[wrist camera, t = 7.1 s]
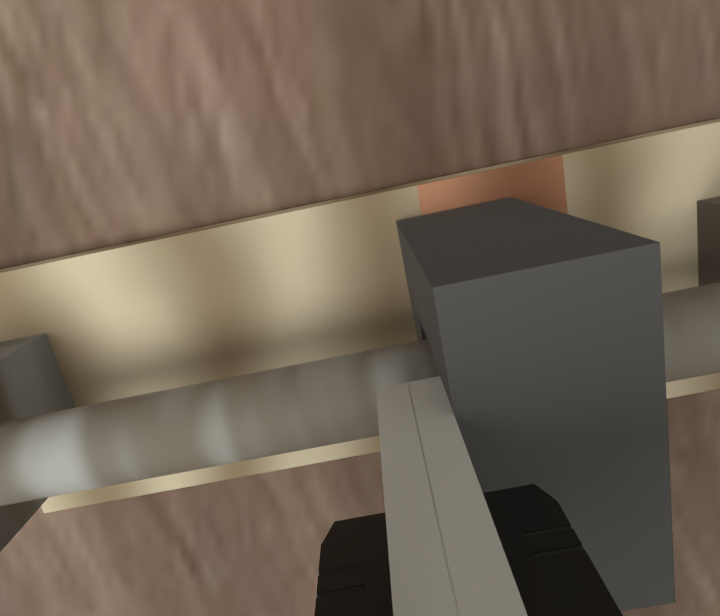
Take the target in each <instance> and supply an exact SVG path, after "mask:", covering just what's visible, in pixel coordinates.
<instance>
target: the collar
mask: <svg viewBox="0 0 720 616" xmlns="http://www.w3.org/2000/svg"><path fill="white" fill-rule="evenodd" d="M396 225H397V231H398V236H399V241H400V247H401V252H402V258H403V263H404V268H405V274H406V279H407V285H408V290H409V295H410V301H411V306H412V312H413V317H414V322H415V328H416V333H417V338H418V341H420V340H425V339H428V342H429V345H430V347H431V350H432V355H433V361H434V367H435V372H436V377H438V376H440V377H441V380H442V383H443V386H444V388H445V391H446V394H447V397H448V399H449V402H450V405H451V407H452V410H453V413H454V416H455V418H456V421H457V424H458V427H459V429H460V432H461V435H462V438H463V440H464V443H465V446H466V448H467V451H468V454H469V457H470V459H471V462H472V465H473V468H474V470H475V473H476V476H477V479H478V481H479V484H480V487H481V489H482V492H483V493H485V492H491V491H496V490H502V489H507V488H513V487H519V486H524V485H530V484H535V485H537V486H538V487H539V488H541V489H542V490H543V491H545V492H546V493H547V494H549V495H550V496H552V497H553V498H554V499H556V500H557V501H558V503H559V505H560V506H561V508H562V510H563V512H564V513H565V515H566V517H567V519H568V520H569V522H570V524H571V527H572V529H574V531H575V533H576V534H577V536H578V538H579V540H580V541H581V543H582V546H583V549H585V550H586V552H587V554H588V555H589V557H590V559H591V561H592V562H593V564H594V566H595V568H596V570H597V571H598V573H599V575H600V577H601V578H602V580H603V582H604V584H605V585H606V587H607V589H608V591H609V592H610V594H611V596H612V598H613V599H614V601H615V603H616V605H617V606H618V608H619V610H620V611H625V610H631V609H637V608H643V607H649V606H655V605H661V604H667V603H673V602H675V586H674V563H673V539H672V515H671V491H670V468H669V444H668V420H667V396H666V373H665V349H664V325H663V301H662V278H661V254H660V242H657V241H654V240H651V239H648V238H644V237H641V236H638V235H634V234H631V233H628V232H625V231H621V230H618V229H615V228H611V227H608V226H605V225H601V224H598V223H595V222H592V221H588V220H585V219H582V218H578V217H575V216H572V215H569V214H565V213H562V212H559V211H555V210H552V209H549V208H545V207H542V206H539V205H536V204H532V203H529V202H526V201H522V200H519V199H516V198H513V197H509V198H504V199H499V200H494V201H490V202H485V203H480V204H475V205H470V206H466V207H461V208H456V209H451V210H446V211H441V212H437V213H432V214H427V215H422V216H417V217H412V218H408V219H403V220H398V221H396Z"/></svg>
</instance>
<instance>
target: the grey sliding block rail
mask: <svg viewBox="0 0 720 616" xmlns="http://www.w3.org/2000/svg"><path fill="white" fill-rule="evenodd" d="M509 197H513V198H516V199H519V200H522V201H526V202H529V203H532V204H536V205H539V206H542V207H545V208H549V209H552V210H555V211H559V212H562V213H565V214H569V215H572V216H575V217H578V218H582V219H585V220H588V221H592V222H595V223H598V224H601V225H605V226H608V227H611V228H615V229H618V230H621V231H625V232H628V233H631V234H634V235H638V236H641V237H644V238H648V239H651V240H654V241H657V242H660V254H661V278H662V301H663V325H664V349H665V373H666V396H667V399H668V398H673V397H678V396H684V395H689V394H695V393H700V392H706V391H711V390H716V389H720V118H718V119H713V120H708V121H703V122H699V123H694V124H689V125H684V126H680V127H675V128H670V129H665V130H661V131H656V132H651V133H646V134H642V135H637V136H632V137H627V138H623V139H618V140H613V141H608V142H604V143H599V144H594V145H589V146H585V147H580V148H575V149H570V150H566V151H561V152H556V153H551V154H547V155H542V156H537V157H532V158H528V159H523V160H518V161H513V162H509V163H504V164H499V165H494V166H490V167H485V168H480V169H475V170H471V171H466V172H461V173H456V174H452V175H447V176H442V177H437V178H433V179H428V180H423V181H418V182H414V183H409V184H404V185H399V186H395V187H390V188H385V189H380V190H376V191H371V192H366V193H361V194H357V195H352V196H347V197H342V198H338V199H333V200H328V201H323V202H319V203H314V204H309V205H304V206H300V207H295V208H290V209H285V210H281V211H276V212H271V213H266V214H262V215H257V216H252V217H248V218H243V219H238V220H233V221H229V222H224V223H219V224H214V225H210V226H205V227H200V228H195V229H191V230H186V231H181V232H176V233H172V234H167V235H162V236H157V237H153V238H148V239H143V240H138V241H134V242H129V243H124V244H119V245H115V246H110V247H105V248H100V249H96V250H91V251H86V252H81V253H77V254H72V255H67V256H62V257H58V258H53V259H48V260H43V261H39V262H34V263H29V264H24V265H20V266H15V267H10V268H5V269H1V270H0V552H1V550H2V549H3V548H4V547H5V546H6V545H7V544H8V543H9V541H10V540H11V539H12V538H13V537H14V536H15V535H16V533H17V532H18V531H19V530H20V529H21V528H22V527H23V526H24V524H25V523H26V522H27V521H28V520H29V519H30V518H31V517H32V515H33V514H34V513H35V512H36V511H37V510H38V509H39V508H40V506H41V507H42V510H43V512H44V513H48V512H54V511H59V510H64V509H70V508H75V507H81V506H86V505H92V504H97V503H103V502H108V501H113V500H119V499H124V498H130V497H135V496H141V495H146V494H151V493H157V492H162V491H168V490H173V489H179V488H184V487H189V486H195V485H200V484H206V483H211V482H217V481H222V480H227V479H233V478H238V477H244V476H249V475H255V474H260V473H265V472H271V471H276V470H282V469H287V468H293V467H298V466H304V465H309V464H314V463H320V462H325V461H331V460H336V459H342V458H347V457H352V456H358V455H363V454H369V453H374V452H380V438H379V425H378V412H377V399H376V388H381V387H386V386H391V385H396V384H401V383H407V382H412V381H417V380H422V379H427V378H432V377H436V372H435V367H434V361H433V355H432V350H431V347H430V345H429V342H428V339H425V340H420V341H418V338H417V333H416V328H415V322H414V317H413V312H412V306H411V301H410V295H409V290H408V285H407V279H406V274H405V268H404V263H403V258H402V252H401V247H400V241H399V236H398V231H397V225H396V221H398V220H403V219H408V218H412V217H417V216H422V215H427V214H432V213H437V212H441V211H446V210H451V209H456V208H461V207H466V206H470V205H475V204H480V203H485V202H490V201H494V200H499V199H504V198H509Z"/></svg>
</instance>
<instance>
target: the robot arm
mask: <svg viewBox="0 0 720 616" xmlns="http://www.w3.org/2000/svg"><path fill="white" fill-rule="evenodd" d="M376 399H377V412H378V425H379V438H380V451H381V464H382V476H383V489H384V502H385V513H380V514H374V515H369V516H363V517H358V518H352V519H347V520H341V521H335V522H334V524H333V525H332V527H331V529H330V530H329V532H328V534H327V536H326V537H325V539H324V541H323V543H322V544H321V552H320V563H319V576H318V585H317V598H316V607H315V616H623V615H622V613H621V612H620V610H619V608H618V606H617V605H616V603H615V601H614V599H613V598H612V596H611V594H610V592H609V591H608V589H607V587H606V585H605V584H604V582H603V580H602V578H601V577H600V575H599V573H598V571H597V570H596V568H595V566H594V564H593V562H592V561H591V559H590V557H589V555H588V554H587V552H586V550H585V549H583V546H582V543H581V541H580V540H579V538H578V536H577V534H576V533H575V531H574V529H572V527H571V524H570V522H569V520H568V519H567V517H566V515H565V513H564V512H563V510H562V508H561V506H560V505H559V503H558V501H557V500H556V499H554V498H553V497H552V496H550V495H549V494H547V493H546V492H545V491H543V490H542V489H541V488H539V487H538V486H537V485H535V484H530V485H524V486H519V487H513V488H507V489H502V490H496V491H491V492H485V493H483V492H482V489H481V487H480V484H479V481H478V479H477V476H476V473H475V470H474V468H473V465H472V462H471V459H470V457H469V454H468V451H467V448H466V446H465V443H464V440H463V438H462V435H461V432H460V429H459V427H458V424H457V421H456V418H455V416H454V413H453V410H452V407H451V405H450V402H449V399H448V397H447V394H446V391H445V388H444V386H443V383H442V380H441V377H440V376H438V377H432V378H427V379H422V380H417V381H412V382H407V383H401V384H396V385H391V386H386V387H381V388H376Z"/></svg>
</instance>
